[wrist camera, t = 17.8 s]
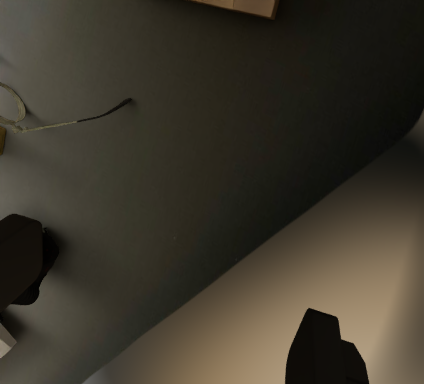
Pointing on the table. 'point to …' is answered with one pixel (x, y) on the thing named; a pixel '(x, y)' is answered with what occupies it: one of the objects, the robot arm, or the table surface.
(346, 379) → the robot arm
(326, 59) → the table surface
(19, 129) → the eyeglasses
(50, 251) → the crumpled patterned cloth
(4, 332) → the board
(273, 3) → the frame
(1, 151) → the candy box
